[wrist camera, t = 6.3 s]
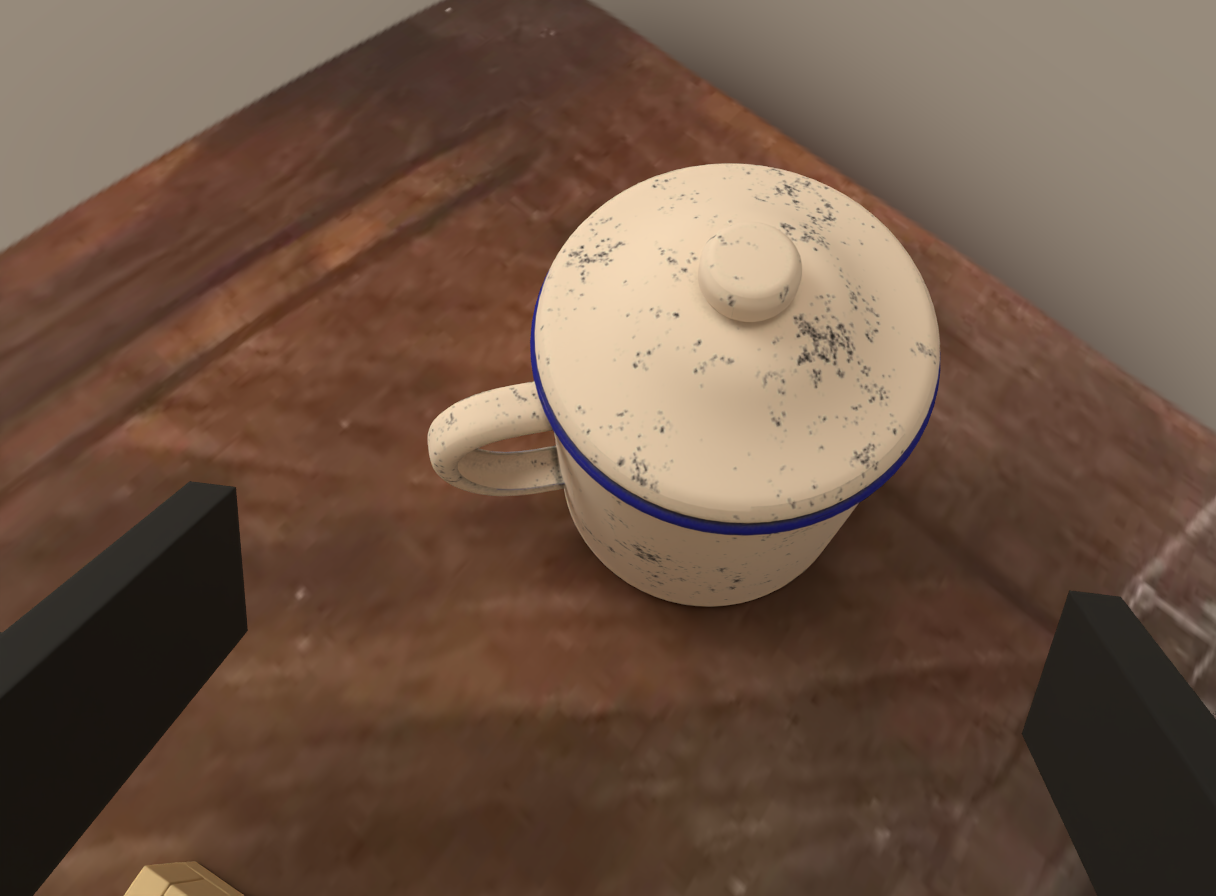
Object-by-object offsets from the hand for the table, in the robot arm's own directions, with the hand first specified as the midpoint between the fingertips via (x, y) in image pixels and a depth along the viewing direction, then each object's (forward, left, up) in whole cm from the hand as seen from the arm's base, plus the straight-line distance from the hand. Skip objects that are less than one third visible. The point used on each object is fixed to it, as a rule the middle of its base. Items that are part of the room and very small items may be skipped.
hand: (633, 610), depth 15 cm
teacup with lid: (+2, -6, -12) cm, 14 cm away
